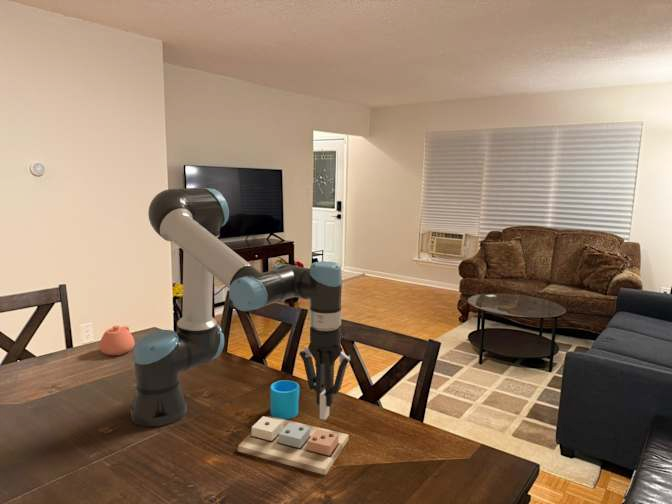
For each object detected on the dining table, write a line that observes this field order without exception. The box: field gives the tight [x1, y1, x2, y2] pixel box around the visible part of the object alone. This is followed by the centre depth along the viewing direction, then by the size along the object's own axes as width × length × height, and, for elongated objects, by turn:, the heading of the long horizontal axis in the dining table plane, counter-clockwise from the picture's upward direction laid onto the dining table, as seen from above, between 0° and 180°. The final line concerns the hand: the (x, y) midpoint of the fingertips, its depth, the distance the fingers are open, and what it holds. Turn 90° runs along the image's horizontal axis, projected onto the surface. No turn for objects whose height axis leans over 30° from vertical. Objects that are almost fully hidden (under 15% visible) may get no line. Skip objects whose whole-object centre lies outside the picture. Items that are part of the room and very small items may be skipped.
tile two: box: [278, 422, 310, 449], centre depth 122 cm, size 6×6×3 cm
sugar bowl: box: [98, 325, 136, 356], centre depth 181 cm, size 12×14×10 cm
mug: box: [269, 379, 301, 420], centre depth 140 cm, size 12×8×8 cm
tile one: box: [251, 415, 283, 442], centre depth 124 cm, size 6×6×3 cm
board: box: [237, 415, 350, 476], centre depth 122 cm, size 24×16×2 cm, turn 69°
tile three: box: [306, 429, 339, 457], centre depth 119 cm, size 6×6×3 cm
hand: (324, 416), depth 117 cm, fingers closed
